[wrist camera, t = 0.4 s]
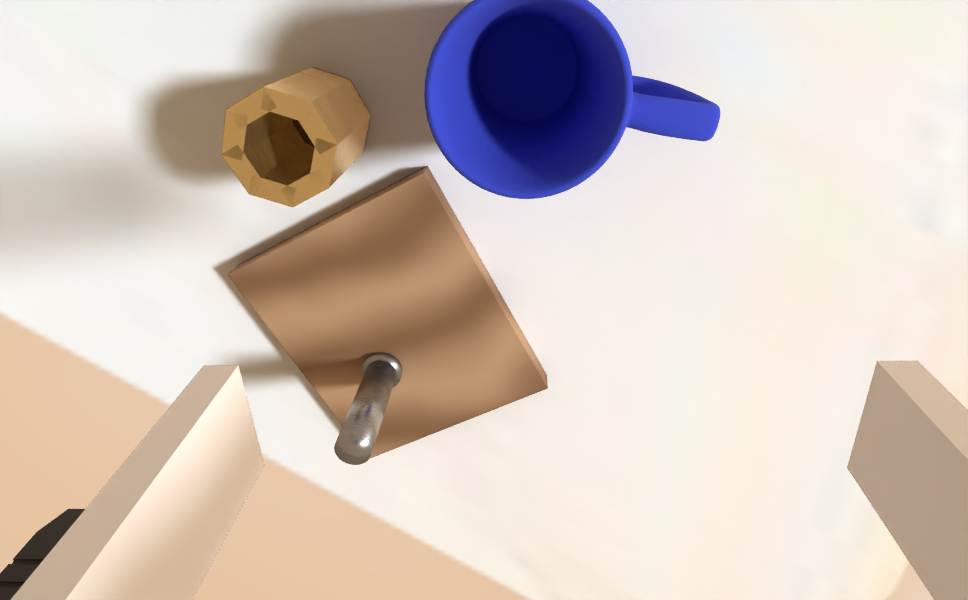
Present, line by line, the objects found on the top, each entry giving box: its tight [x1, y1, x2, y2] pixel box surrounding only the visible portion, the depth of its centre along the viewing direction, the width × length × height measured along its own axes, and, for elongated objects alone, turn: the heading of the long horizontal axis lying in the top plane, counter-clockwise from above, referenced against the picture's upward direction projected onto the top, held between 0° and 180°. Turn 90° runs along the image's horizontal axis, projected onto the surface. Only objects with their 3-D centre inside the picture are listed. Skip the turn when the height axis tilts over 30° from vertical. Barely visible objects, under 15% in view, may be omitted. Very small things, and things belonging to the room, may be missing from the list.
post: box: [334, 352, 403, 465], centre depth 38 cm, size 3×3×8 cm
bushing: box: [221, 67, 371, 207], centre depth 32 cm, size 5×5×7 cm
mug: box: [425, 0, 720, 199], centre depth 29 cm, size 8×12×10 cm
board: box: [228, 166, 548, 459], centre depth 41 cm, size 16×14×2 cm
